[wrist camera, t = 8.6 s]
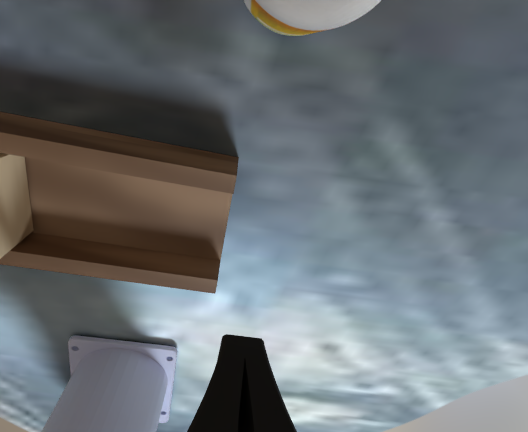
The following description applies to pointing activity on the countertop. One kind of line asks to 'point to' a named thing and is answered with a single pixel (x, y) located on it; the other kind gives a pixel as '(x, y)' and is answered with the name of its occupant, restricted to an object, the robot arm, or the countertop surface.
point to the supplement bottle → (307, 14)
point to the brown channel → (120, 205)
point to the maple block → (13, 202)
